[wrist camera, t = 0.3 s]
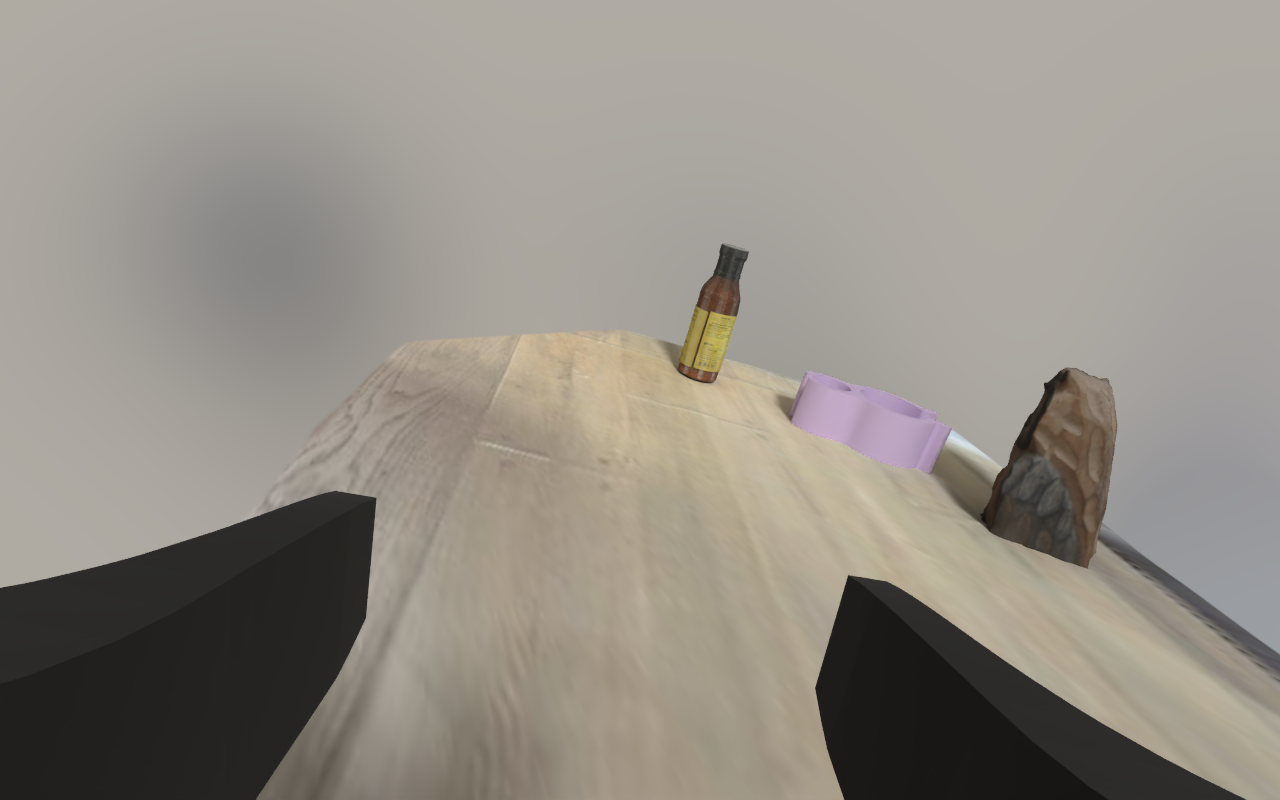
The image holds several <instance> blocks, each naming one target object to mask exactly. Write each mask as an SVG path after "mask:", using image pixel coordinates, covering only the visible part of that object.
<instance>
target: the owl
mask: <svg viewBox="0 0 1280 800" xmlns="http://www.w3.org/2000/svg"><path fill="white" fill-rule="evenodd" d="M1044 388H1045V392H1044V395H1043V397H1042V399H1041V401H1040V403H1039V405H1038V406H1037V408H1036V409H1035V411H1034V412H1033V413H1032V414H1030V416H1029V417H1028V419H1027V421H1026V422H1025V424H1024V427H1023V428H1022V431H1021V433H1020V435H1019V436H1018V438H1017V440H1016V441H1015V443H1014V446H1013V449H1012V451H1011V454H1010V460H1009V463H1008V465H1007V466H1006V467H1005V468H1003V469H1002V470H1001V471H1000V473H999V474H998V475H997V477H996V480H995V482H994V485H993V488H992V490H993V492H992V496H991V499H990V501H989V503H988V504H987V506H986V508H985V510H984V513H982V514H981V516H982V518H981V519H982V520H983V521H984V522H985V523H986V525H987V527H988V529H989V531H990V532H991V533H993V534H995V535H997V536H999V537H1001V538H1004V539H1006V540H1009V541H1012V542H1016V543H1019V544H1022V545H1024V546H1025V547H1028V548H1031V549H1035V550H1038V551H1040V552H1043V553H1046V554H1049V555H1051V556H1053V557H1055V558H1057V559H1060V560H1063V561H1066V562H1070V563H1073V564H1076V565H1079V566H1082V567H1084V568H1088V564H1089V560H1090V559H1091V558H1092V556H1093V555H1094V554H1095V553H1096V545H1097V541H1098V534H1099V531H1100V527H1101V524H1102V520H1103V517H1104V514H1105V510H1106V504H1107V496H1108V490H1109V484H1110V475H1111V470H1112V461H1113V456H1114V447H1115V439H1116V432H1117V420H1116V411H1115V403H1114V396H1113V391H1112V387H1111V386H1110V384H1109V380H1108V379H1107V378H1105V379H1099V378H1097V377H1095V376H1090V375H1088V374H1087V373H1085V372H1084V371H1080V370H1079V369H1077V368H1065V369H1063V370H1061V371H1060V372H1058V374H1057V375H1056V376H1055V377H1054V378H1053V379H1052V380H1050V381H1049V382H1048V383H1044Z"/></svg>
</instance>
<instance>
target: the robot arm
mask: <svg viewBox="0 0 1280 800" xmlns="http://www.w3.org/2000/svg"><path fill="white" fill-rule="evenodd" d="M375 508H376V498H374V497H368V496H362V495H356V494H350V493H344V492H338V491H333V492H328V493H324V494H320V495H317V496H314V497H311V498H308V499H305V500H302V501H299V502H296V503H293V504H290V505H287V506H285V507H282V508H279V509H276V510H273V511H271V512H268V513H265V514H262V515H260V516H257V517H254V518H251V519H248V520H246V521H243V522H240V523H237V524H234V525H232V526H229V527H226V528H223V529H220V530H217V531H215V532H212V533H208V534H205V535H202V536H199V537H196V538H193V539H189V540H186V541H183V542H180V543H177V544H174V545H171V546H168V547H164V548H161V549H158V550H155V551H152V552H149V553H145V554H142V555H139V556H135V557H132V558H128V559H125V560H121V561H117V562H113V563H110V564H106V565H102V566H98V567H94V568H90V569H86V570H82V571H78V572H74V573H70V574H65V575H61V576H57V577H52V578H48V579H43V580H39V581H34V582H29V583H25V584H19V585H14V586H8V587H3V588H0V800H255V799H256V798H257V796H258V795H259V793H260V792H261V791H262V789H263V788H264V786H265V785H266V783H267V782H268V780H269V779H270V777H271V776H272V774H273V773H274V771H275V770H276V768H277V767H278V765H279V764H280V762H281V761H282V759H283V758H284V756H285V755H286V753H287V752H288V750H289V749H290V747H291V746H292V744H293V743H294V741H295V740H296V738H297V737H298V735H299V734H300V733H301V731H302V730H303V728H304V727H305V725H306V724H307V722H308V721H309V719H310V718H311V716H312V715H313V713H314V711H315V710H316V708H317V707H318V705H319V704H320V702H321V701H322V699H323V698H324V696H325V695H326V693H327V692H328V690H329V689H330V687H331V686H332V684H333V682H334V681H335V679H336V678H337V676H338V674H339V672H340V670H341V668H342V666H343V664H344V662H345V660H346V658H347V656H348V654H349V653H350V651H351V648H352V646H353V644H354V642H355V640H356V638H357V636H358V634H359V632H360V629H361V627H362V625H363V623H364V621H365V619H366V610H367V599H368V587H369V576H370V565H371V553H372V542H373V531H374V520H375ZM815 689H816V695H817V700H818V706H819V711H820V717H821V722H822V727H823V731H824V736H825V740H826V745H827V750H828V753H829V756H830V759H831V762H832V765H833V768H834V771H835V774H836V777H837V780H838V783H839V786H840V788H841V791H842V794H843V797H844V800H1246V799H1244V798H1242V797H1240V796H1238V795H1236V794H1233V793H1231V792H1229V791H1227V790H1225V789H1223V788H1221V787H1219V786H1217V785H1215V784H1213V783H1211V782H1209V781H1207V780H1205V779H1203V778H1201V777H1199V776H1197V775H1195V774H1193V773H1191V772H1189V771H1187V770H1185V769H1183V768H1181V767H1180V766H1178V765H1176V764H1174V763H1172V762H1170V761H1168V760H1166V759H1164V758H1162V757H1161V756H1159V755H1157V754H1155V753H1153V752H1152V751H1150V750H1148V749H1146V748H1145V747H1143V746H1141V745H1139V744H1137V743H1136V742H1134V741H1132V740H1130V739H1129V738H1127V737H1125V736H1123V735H1122V734H1120V733H1118V732H1116V731H1115V730H1113V729H1111V728H1109V727H1107V726H1106V725H1104V724H1102V723H1100V722H1099V721H1097V720H1096V719H1094V718H1092V717H1091V716H1089V715H1087V714H1086V713H1084V712H1082V711H1081V710H1079V709H1077V708H1076V707H1074V706H1073V705H1071V704H1069V703H1068V702H1066V701H1065V700H1063V699H1062V698H1060V697H1059V696H1057V695H1056V694H1054V693H1052V692H1051V691H1049V690H1048V689H1046V688H1045V687H1043V686H1042V685H1040V684H1039V683H1037V682H1035V681H1034V680H1032V679H1031V678H1029V677H1028V676H1026V675H1025V674H1023V673H1022V672H1020V671H1019V670H1018V669H1016V668H1015V667H1013V666H1012V665H1010V664H1009V663H1007V662H1006V661H1004V660H1003V659H1001V658H1000V657H999V656H997V655H996V654H994V653H993V652H991V651H990V650H989V649H987V648H986V647H984V646H983V645H981V644H980V643H979V642H977V641H976V640H974V639H973V638H972V637H970V636H969V635H967V634H966V633H965V632H963V631H962V630H960V629H959V628H958V627H956V626H955V625H953V624H952V623H950V622H949V621H948V620H946V619H945V618H943V617H942V616H941V615H939V614H938V613H936V612H935V611H933V610H932V609H931V608H929V607H928V606H926V605H925V604H923V603H922V602H920V601H919V600H917V599H916V598H914V597H913V596H911V595H910V594H908V593H907V592H905V591H903V590H902V589H900V588H898V587H896V586H894V585H893V584H891V583H889V582H886V581H880V580H874V579H868V578H862V577H856V576H850V575H848V578H847V581H846V585H845V588H844V592H843V595H842V598H841V602H840V605H839V609H838V612H837V616H836V619H835V622H834V626H833V629H832V633H831V636H830V639H829V643H828V646H827V650H826V653H825V656H824V660H823V663H822V667H821V670H820V674H819V677H818V680H817V684H816V687H815Z"/></svg>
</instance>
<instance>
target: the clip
mask: <svg viewBox="0 0 1280 800" xmlns="http://www.w3.org/2000/svg"><path fill="white" fill-rule="evenodd" d="M789 415H790V416H792V417H793V418H792V420H791V423H792V424H793V425H795V426H796V427H798V428H800V429H802V430H804V431H806V432H808V433H811V434H813V435H816V436H819V437H822V438H826V439H831V440H834V441H837V442H840V443H842V444H844V445H846V446H848V447H850V448H851V449H853V450H855V451H857V452H859V453H861V454H863V455H865V456H867V457H870V458H872V459H874V460H877V461H880V462H882V463H885V464H889V465H892V466H896V467H901V468H918V469H920V470H922V471H924V472H927V473H931V471H932V469H933V467H934V465H935V463H936V460H937V458H938V456H939V454H940V452H941V450H942V448H943V446H944V444H945V442H946V440H947V438H948V436H949V433H950V431H951V429H952V428H951V427H949V426H947V425H945V424H943V423H940V422H938V421H936V419H937V417H938V415H939V414H938V413H937V412H934V411H932V410H927V409H924V408H922V407H920V406H918V405H916V404H914V403H912V402H910V401H908V400H905V399H903V398H901V397H898V396H895V395H893V394H890V393H887V392H884V391H881V390H878V389H874V388H870V387H866V386H859V385H853V384H850V383H846V382H844V381H841V380H838V379H836V378H833V377H831V376H827V375H824V374H821V373H817V372H811V371H806V373H805V376H804V378H803V380H802V383H801V385H800V388H799V390H798V393H797V395H796V398H795V400H794V403H793V405H792V408H791V410H790V413H789Z"/></svg>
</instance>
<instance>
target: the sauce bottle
mask: <svg viewBox="0 0 1280 800" xmlns="http://www.w3.org/2000/svg"><path fill="white" fill-rule="evenodd" d="M748 253H749V252H748V251H747V250H745V249H742V248H739V247H736V246H733V245H729V244H725V243H723V244H722V246H721V248H720V256H719V259H718V263H717V266H716V269H715V270H714V274H713V276H712V277H711V278H710V279H709V280H708V281H707V282H706V283H705V284H704V285H703V287H702V289H701V291H700V296H699V299H698V302H697V304H696V306H695V310H694V313H693V317H692V320H691V323H690V327H689V330H688V334H687V337H686V340H685V343H684V347H683V350H682V353H681V357H680V364H679V371H680V372H681V373H682V374H684V375H686V376H687V377H689V378H692V379H695V380H697V381H702V382H713V381H715V380H716V378H717V375H718V372H719V371H720V368H721V365H722V362H723V359H724V355H725V352H726V348H727V346H728V343H729V339H730V336H731V333H732V330H733V326H734V323H735V320H736V317H737V314H738V308H739V303H740V292H739V279H740V274H741V272H742V268H743V265H744V262H745V261H746V260H747V257H748Z"/></svg>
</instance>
